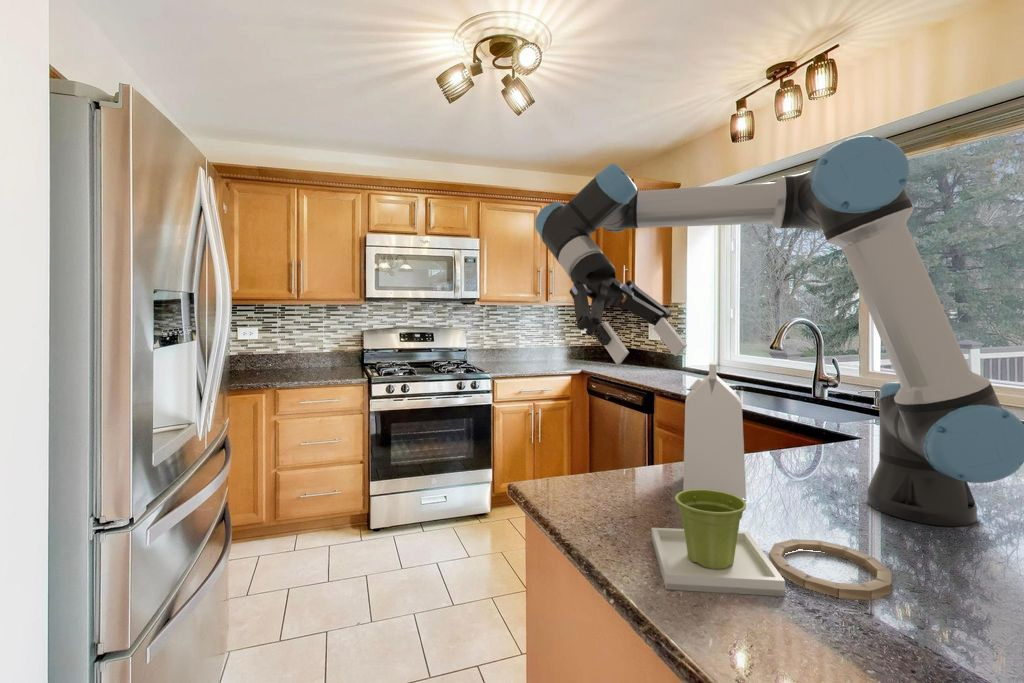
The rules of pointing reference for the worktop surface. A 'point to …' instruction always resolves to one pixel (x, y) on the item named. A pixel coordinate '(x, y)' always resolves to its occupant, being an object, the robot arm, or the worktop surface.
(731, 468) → the milk
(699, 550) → the plant pot
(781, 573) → the oak ring
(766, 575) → the grey tray
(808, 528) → the worktop surface
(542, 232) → the robot arm
